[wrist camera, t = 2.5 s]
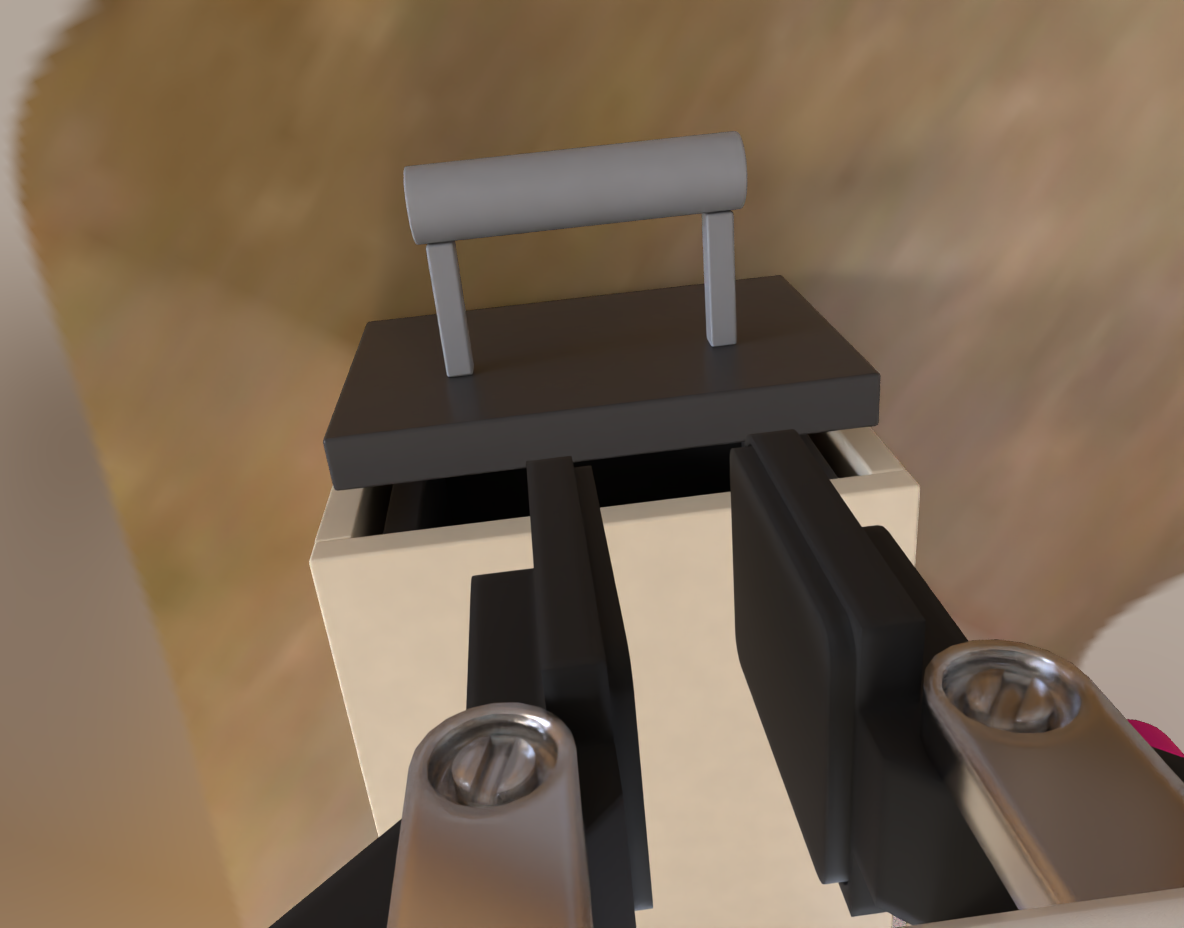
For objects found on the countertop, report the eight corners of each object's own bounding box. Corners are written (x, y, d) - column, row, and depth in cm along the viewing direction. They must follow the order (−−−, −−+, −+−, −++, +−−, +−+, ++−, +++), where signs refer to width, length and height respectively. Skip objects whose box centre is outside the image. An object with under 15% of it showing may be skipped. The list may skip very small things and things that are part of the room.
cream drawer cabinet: (363, 387, 28) (307, 560, 20) (794, 336, 29) (921, 485, 20) (442, 771, 35) (426, 1028, 26) (794, 724, 35) (891, 962, 27)
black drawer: (331, 144, 25) (266, 207, 18) (780, 96, 25) (892, 139, 18) (444, 713, 33) (430, 911, 26) (784, 668, 33) (862, 851, 26)
